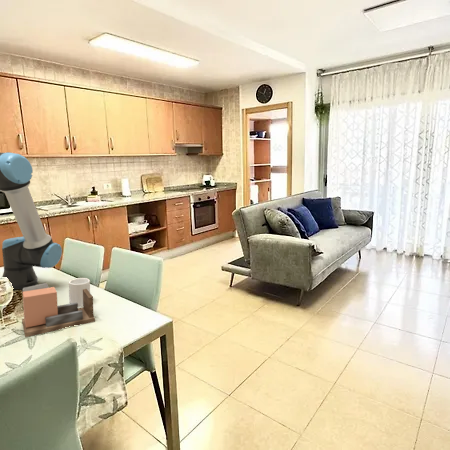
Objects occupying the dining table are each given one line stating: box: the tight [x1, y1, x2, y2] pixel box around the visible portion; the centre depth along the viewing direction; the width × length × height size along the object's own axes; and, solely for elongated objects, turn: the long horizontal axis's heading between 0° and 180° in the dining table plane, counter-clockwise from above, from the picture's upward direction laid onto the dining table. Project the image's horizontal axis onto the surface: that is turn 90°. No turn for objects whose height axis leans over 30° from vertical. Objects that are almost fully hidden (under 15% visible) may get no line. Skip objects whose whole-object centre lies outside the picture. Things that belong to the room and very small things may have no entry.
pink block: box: [22, 286, 58, 328], centre depth 116 cm, size 10×6×11 cm, turn 126°
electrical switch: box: [21, 282, 49, 293], centre depth 132 cm, size 9×5×9 cm, turn 141°
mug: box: [68, 277, 91, 308], centre depth 139 cm, size 8×12×10 cm, turn 40°
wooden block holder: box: [21, 289, 96, 338], centre depth 119 cm, size 22×12×10 cm, turn 126°
